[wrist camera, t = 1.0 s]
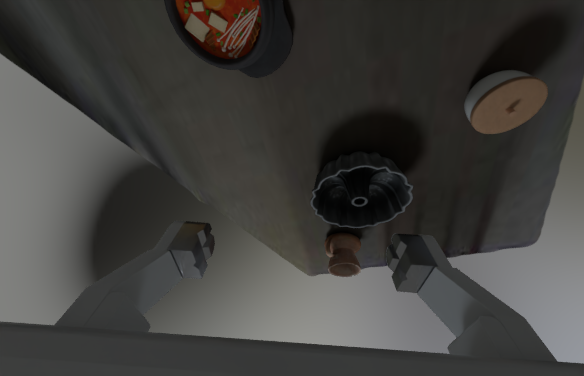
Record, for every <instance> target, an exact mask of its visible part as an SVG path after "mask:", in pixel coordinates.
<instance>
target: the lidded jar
mask: <svg viewBox="0 0 584 376" xmlns="http://www.w3.org/2000/svg"><path fill="white" fill-rule="evenodd" d="M547 95H548V88H547V85H546V84H545V83H544V82H543V81H542V80H540V79H538V78H536V77H533V76H532V75H530V74H528V73H525V72H521V71H517V70H504V71H499V72H496V73H493V74H490V75H488V76H486V77H484V78H483V79H481V80H480V81H478V82H477V83H476V84H475V85H474V86H473V87H472V89H471V90H470V91H469V93H468V95H467V97H466V100H465V106H464V108H465V113H466V115H467V118H468V119H469V121H470V122H471V124H472V126H473V127H474V128H475V129H476V130H477V131H479V132H481V133H485V134H495V133H501V132H505V131H508V130H510V129H513V128H515V127H517V126H519V125H521V124H523V123H524V122H526V121H527V120H529V119H530V118H531V117H532V116H533V115H535V114H536V113H537V112H538V111H539V109H540V108H541V107H542V106H543V104H544V102H545V100H546V98H547Z"/></svg>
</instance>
